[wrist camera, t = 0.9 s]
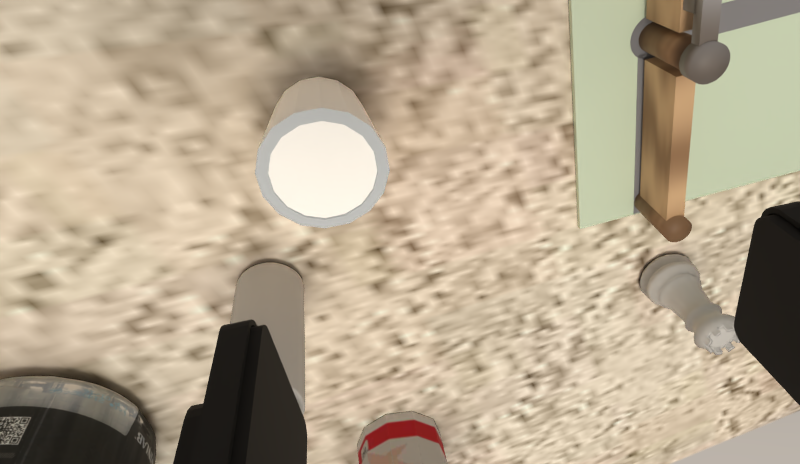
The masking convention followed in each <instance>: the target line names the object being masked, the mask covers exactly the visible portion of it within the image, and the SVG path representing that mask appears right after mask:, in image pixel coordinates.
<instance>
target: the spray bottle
mask: <svg viewBox="0 0 800 464" xmlns="http://www.w3.org/2000/svg"><path fill="white" fill-rule="evenodd" d="M357 447H358V457H359V464H447V460H446V456H445V452H444V448H443V444H442V440H441V435H440V433H439V430H438V428H437V426H436V424H435V422H434V420H433V419H432V418H429V417H427V416H424V415H421V414H418V413H416V412H413V411H409V412H401V413H393V414H385V415H384V416H382V417H380V418H379V419H377V420H376V421H374V422H372V423H371V424H369V425H367V426H366V427H364V429H363V432H362V434H361V437H360V439H359V442H358V444H357Z"/></svg>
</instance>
